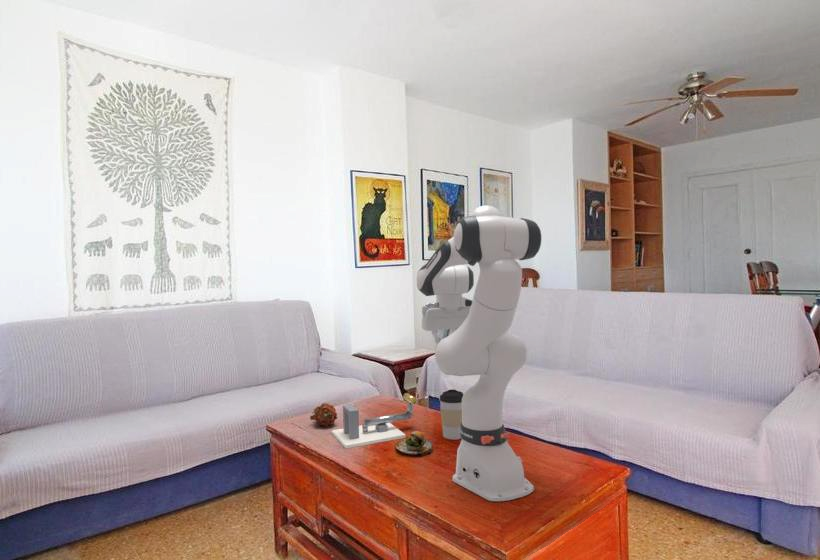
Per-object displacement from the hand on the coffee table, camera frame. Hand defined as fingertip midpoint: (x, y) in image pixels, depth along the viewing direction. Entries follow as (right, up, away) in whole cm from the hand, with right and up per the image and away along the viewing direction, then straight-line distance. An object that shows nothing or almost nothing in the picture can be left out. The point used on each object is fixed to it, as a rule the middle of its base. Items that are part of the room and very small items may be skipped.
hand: (449, 341), depth 170 cm
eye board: (-28, -32, -2) cm, 42 cm away
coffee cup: (+1, -32, -4) cm, 32 cm away
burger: (-12, -33, -16) cm, 38 cm away
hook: (-21, -30, +1) cm, 37 cm away
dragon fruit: (-45, -32, +10) cm, 56 cm away
